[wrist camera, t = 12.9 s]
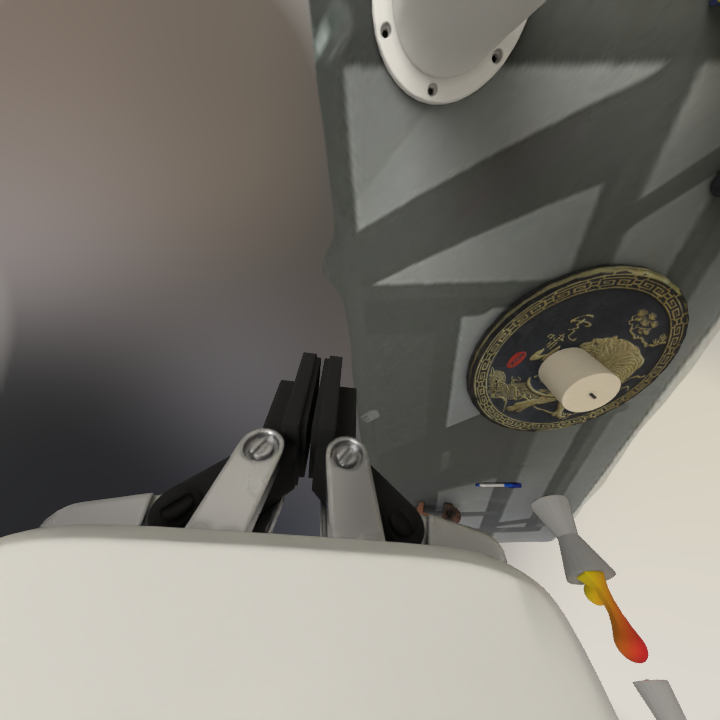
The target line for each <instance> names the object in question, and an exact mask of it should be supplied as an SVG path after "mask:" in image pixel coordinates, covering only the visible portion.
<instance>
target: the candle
mask: <svg viewBox="0 0 720 720" xmlns="http://www.w3.org/2000/svg"><path fill="white" fill-rule="evenodd" d="M538 374H539V378H540V380H541V381H542V382H543V383H544V384H545V386H546V387H547V388H548V389H549V390H550V392H551V393H552V394H553V395H554V396H555V397H556V399H557V400H558V401H559V402H560V403H561V404H562V406H563V407H564V408H565V409H567V410H569V411H572V412H586V411H590V410H594V409H596V408H599V407H601V406H603V405H605V404H606V403H608V402H609V401H610V400H612V399H613V398H614V397H615V396H616V394H617V393H618V392H619V390H620V387H621V382H620V379H619V378H618V377H617V376H616V375H615V374H614V373H612V372H611V371H610V370H609V369H607V368H606V367H605V366H604V365H602V364H601V363H600V362H599V361H597V360H596V359H595V358H594V357H592V356H591V355H590V354H589V353H587V352H586V351H585V350H583V349H581V348H566V349H562V350H560V351H557V352H555V353H554V354H552V355H550V356H549V357H548V358H547V359H546V360H545V361H544V362H543V363H542V364H541V366H540V368H539V372H538Z"/></svg>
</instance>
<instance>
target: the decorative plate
mask: <svg viewBox="0 0 720 720" xmlns="http://www.w3.org/2000/svg"><path fill="white" fill-rule="evenodd" d="M688 322H689V315H688V306H687V302H686V300H685V298H684V296H683V294H682V292H681V290H680V289H679V288H678V287H677V286H676V285H675V284H674V283H672V282H671V281H670V280H669V279H668V278H667V277H665V276H664V275H662V274H660V273H658V272H655V271H653V270H650V269H648V268H645V267H640V266H631V265H621V264H620V265H610V266H599V267H592V268H589V269H585V270H581V271H578V272H574V273H570V274H567V275H565V276H562V277H560V278H558V279H555V280H553V281H551V282H548V283H546V284H544V285H542V286H540V287H539V288H537V289H535V290H534V291H532V292H530V293H529V294H527V295H525V296H524V297H522V298H521V299H519V300H518V301H517V302H516V303H514V304H513V305H512V306H511V307H509V308H508V309H507V310H506V311H504V312H503V313H502V314H501V315H500V316H499V317H498V318H497V319H496V320H495V322H494V323H493V324H492V325H491V326H490V327H489V328H488V329H487V330H486V332H485V333H484V335H483V336H482V338H481V339H480V341H479V342H478V344H477V345H476V347H475V350H474V352H473V354H472V357H471V359H470V361H469V366H468V371H467V390H468V393H469V395H470V398H471V400H472V403H473V404H474V406H475V407H476V408H477V409H478V411H479V412H480V413H481V414H482V415H483V416H484V417H486V418H487V419H488V420H490V421H491V422H493V423H496V424H498V425H500V426H503V427H506V428H511V429H515V430H523V431H545V430H554V429H559V428H565V427H569V426H572V425H576V424H579V423H582V422H585V421H588V420H590V419H593V418H595V417H598V416H600V415H603V414H605V413H607V412H609V411H611V410H613V409H615V408H616V407H618V406H620V405H622V404H623V403H625V402H626V401H628V400H630V399H631V398H633V397H634V396H636V395H637V394H639V393H640V392H641V391H642V390H643V389H645V388H646V387H647V386H648V385H650V384H651V383H652V382H653V381H654V380H655V379H656V378H657V377H658V376H659V375H660V374H661V373H662V372H663V371H664V370H665V369H666V368H667V366H668V365H669V364H670V362H671V361H672V360H673V358H674V357H675V355H676V354H677V353H678V351H679V349H680V346H681V344H682V342H683V340H684V338H685V336H686V331H687V327H688ZM566 348H581V349H583V350H585V351H586V352H587V353H589V354H590V355H591V356H592V357H594V358H595V359H596V360H597V361H599V362H600V363H601V364H602V365H604V366H605V367H606V368H607V369H609V370H610V371H611V372H612V373H614V374H615V375H616V376H617V377H618V378H619V379H620V382H621V387H620V390H619V392H618V393H617V394H616V396H615V397H614V398H613V399H612V400H610V401H609V402H608V403H606V404H605V405H603V406H601V407H599V408H596V409H594V410H590V411H586V412H572V411H569V410H567V409H565V408H564V407H563V406H562V404H561V403H560V402H559V401H558V400H557V399H556V397H555V396H554V395H553V394H552V393H551V392H550V390H549V389H548V388H547V387H546V386H545V384H544V383H543V382H542V381H541V380H540V378H539V374H538V372H539V368H540V366H541V364H542V363H543V362H544V361H545V360H546V359H547V358H548V357H549V356H550V355H552V354H554V353H555V352H557V351H560V350H562V349H566Z"/></svg>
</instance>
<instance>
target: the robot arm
mask: <svg viewBox="0 0 720 720" xmlns="http://www.w3.org/2000/svg"><path fill="white" fill-rule="evenodd" d="M545 1H546V0H372V17H373V25H374V32H375V37H376V41H377V45H378V48H379V52H380V55H381V57H382V60H383V62H384V64H385V66H386V68H387V71H388V72H389V74H390V75H391V77H392V78H393V80H394V81H395V83H396V84H397V85H398V86H399V87H400V88H401V89H402V90H403V91H404V92H405V93H406V94H407V95H409V96H411V97H412V98H414V99H416V100H418V101H420V102H424V103H427V104H431V105H444V104H449V103H453V102H457V101H459V100H461V99H463V98H465V97H467V96H469V95H471V94H472V93H473V92H475V91H476V90H478V89H479V88H481V87H482V86H483V85H484V84H485V83H486V82H487V81H488V80H489V79H491V78H492V77H493V76H494V75H495V73H496V72H497V71H498V70H499V69H500V67H501V66H502V65H503V64H504V62H505V61H506V59H507V58H508V56H509V55H510V53H511V51H512V50H513V48H514V46H515V45H516V43H517V41H518V39H519V37H520V35H521V32H522V30H523V28H524V26H525V24H526V22H527V19H528V17H529V16H530V15H531V14H532V13H533V12H534V11H536V10H537V9H538V8H539V7H540V6H541V5H542V4H543V3H544V2H545ZM385 30H386V31H387V32H388V37H387V38H384V37H383V36H382V32H383V31H385ZM492 56H495V57H496V61H495V63H493V61H492ZM429 88H432V89H433V94H432V95H429V94H428V90H429ZM320 366H321V358H318V357H317V354H313V353H305V352H304V353H303V356H302V360H301V363H300V366H299V369H298V372H297V376H296V379H295V382H294V381H286V380H281V382H280V384H279V387H278V389H277V392H276V394H275V397H274V400H273V402H272V405H271V408H270V410H269V413H268V416H267V418H266V421H265V424H264V426H263V429H257V430H254V431H252V432H250V433H248V434H247V435H245V436H244V437H243V439H242V440H241V441H240V443H239V444H238V446H237V447H236V449H235V450H234V452H233V453H232V455H231V456H229V457H228V458H226V459H224V460H222V461H220V462H218V463H217V464H215V465H213V466H211V467H209V468H208V469H206V470H204V471H202V472H200V473H198V474H196V475H195V476H193V477H191V478H189V479H187V480H186V481H184V482H182V483H180V484H178V485H176V486H175V487H173V488H171V489H169V490H168V491H166V492H165V493H163V494H162V495H156V496H154V494H153V493H148V494H140V495H133V496H125V497H118V498H111V499H103V500H96V501H88V502H82V503H77V504H73V505H69V506H67V507H65V508H63V509H61V510H59V511H57V512H55V513H54V514H53V515H52V516H50V517H49V518H48V519H46V520H45V521H44V523H43V524H42V525H41V526H40V527H39V528H38V529H33V530H28V531H24V532H20V533H15V534H12V535H8V536H5V537H1V538H0V720H618V717H617V715H616V713H615V712H614V709H613V707H612V705H611V703H610V701H609V699H608V697H607V695H606V692H605V690H604V688H603V686H602V684H601V682H600V680H599V678H598V676H597V674H596V672H595V670H594V668H593V666H592V664H591V662H590V660H589V658H588V656H587V654H586V652H585V650H584V648H583V647H582V645H581V643H580V641H579V639H578V637H577V636H576V634H575V632H574V630H573V628H572V627H571V625H570V623H569V621H568V620H567V618H566V617H565V615H564V613H563V612H562V610H561V609H560V608H559V606H558V605H557V603H556V602H555V601H554V600H553V598H552V597H551V596H550V594H549V593H548V592H547V591H546V590H545V589H544V588H543V587H541V586H540V585H539V584H538V583H537V582H536V581H534V580H533V579H531V578H530V577H529V576H527V575H526V574H524V573H523V572H521V571H519V570H518V569H516V568H514V567H512V566H511V565H509V564H507V560H506V557H505V554H504V551H503V549H502V548H501V546H500V545H499V543H498V542H497V541H496V540H495V539H494V538H493V537H492V536H491V535H489V534H487V533H485V532H483V531H480V530H477V529H474V528H471V527H468V526H465V525H462V524H459V523H456V522H453V521H450V520H447V519H444V518H441V517H437V516H434V515H431V514H429V515H428V516H425V515H422V514H419V512H418V511H417V510H416V509H415V507H414V506H413V505H411V504H410V503H409V502H408V501H407V500H406V499H405V498H404V497H403V496H402V495H401V494H400V493H399V492H398V491H397V490H396V489H395V488H394V487H393V486H392V485H391V484H390V483H389V482H388V481H387V480H386V479H385V478H384V477H383V476H382V475H381V474H380V473H378V472H377V471H376V470H375V469H374V468H373V467H372V466H371V465H370V460H369V455H368V452H367V449H366V447H365V446H364V444H363V443H362V442H360V441H359V440H358V439H356V388H347V387H340V378H341V368H342V357H337V356H330V359H327V358H325V361H324V366H323V371H322V376H321V382H320V387H319V378H320ZM318 391H319V392H318ZM310 443H311V448H310ZM309 448H310V462H309V478H313V483H312V491H313V492H314V493H315V494H316V496H318V498H319V499H320V533H321V537H315V536H300V535H299V536H298V535H285V534H271V533H272V530H273V528H274V525H275V523H276V520H277V517H278V515H279V512H280V510H281V507H282V505H283V502H284V498H285V495H286V494H287V493H289V492H290V491H292V490H293V489H294V488H295V485H297V484H298V479H299V477H304V475H305V470H306V464H307V459H308V454H309Z"/></svg>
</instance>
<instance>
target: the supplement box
mask: <svg viewBox="0 0 720 720" xmlns="http://www.w3.org/2000/svg"><path fill="white" fill-rule="evenodd" d="M715 5H720V0H711V2H710V6H715Z"/></svg>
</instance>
